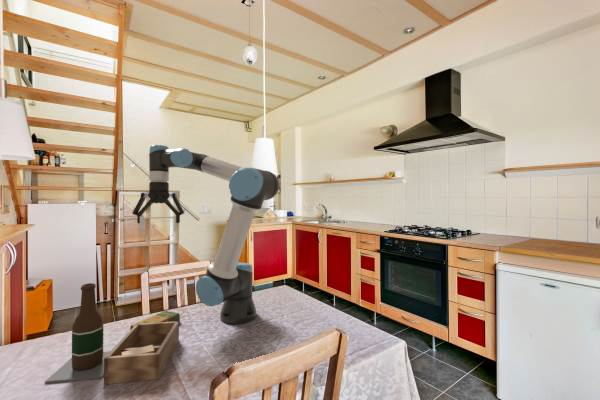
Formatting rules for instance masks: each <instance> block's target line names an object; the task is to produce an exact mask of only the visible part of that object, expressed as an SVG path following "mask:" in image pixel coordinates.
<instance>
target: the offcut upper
mask: <svg viewBox="0 0 600 400" xmlns="http://www.w3.org/2000/svg"><path fill="white" fill-rule="evenodd" d="M153 346H154V344H148V345H144V346H140V347H141V348H138V347H136V348H137V349H133V350H129V351H125V352H122V355H133V354H146V353H154V348H153Z"/></svg>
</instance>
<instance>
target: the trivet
mask: <svg viewBox="0 0 600 400" xmlns="http://www.w3.org/2000/svg"><path fill="white" fill-rule="evenodd" d="M111 351H112V350H110V351H107V350H106V351H103V359H102V362H101V364H99V365H97V366H96V367H94V368H92V369H88V370H84V371H77V370H73V369H72V357H71V358H69V359H68V360H67V361H66V362H65V363H64V364H63V365H61V366H60V367H59V368H58V369H57V370H56V371H55V372H54V373H52V374H51V375H50V376H49V377H48V378H47V379H46V380H45V381H44V384H53V383H55V384H56V383H66V382H77V381H86V380H97V379H98V380H99V379H102V378H104V358H105V357H106V356H107V355H108V354H109V353H110V352H111Z"/></svg>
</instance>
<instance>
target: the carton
mask: <svg viewBox="0 0 600 400" xmlns="http://www.w3.org/2000/svg"><path fill="white" fill-rule="evenodd" d="M180 316H181V315H180V313H179V312H174V311H168V310H163V311H162V312H159V313H156V314H154V315H152V316H150V317H147V318H145V319H143V320H140V321H138V322H135V323H133V324H131V325H130V326H129V327H130V328H129V331H130V330H131V329H132V328H133V327H134V326H135V325H136V324H142V323H158V322H173V321H179V323H180V322H181V317H180Z"/></svg>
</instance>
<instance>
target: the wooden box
mask: <svg viewBox="0 0 600 400" xmlns="http://www.w3.org/2000/svg"><path fill="white" fill-rule="evenodd" d="M179 334H180V322H179V321H173V322H158V323H142V324H136V325H135V326H134V327H133V328H132V329H131V330H130V329H129V331H128V332H127V333H126V334H125V335H124V337H122V339H121V340H120V341H119V342H118V343H117V344H115V346H114V347H113V348H112V350H110V351H111V352H110V353H109V354H108V355H107V356H106V357H105V358H104V376H103V385H112V384H121V383H133V382H143V381H146V382H147V381H154V380H159V379H160V378H161V376H162V374H163V372H164V370H165V369H166V367H167V365H168V363H169V361H170V359H171V356H172V355H173V353H174V351H175V349H176V347H177V345H178V343H179V342H180V340H179V338H180V337H179V336H180V335H179ZM157 344H159V345H157ZM160 344H161V345H160ZM143 345H144V346H148V345H153V348H154V353H146V354H133V355H122V352H125V351H129V350H133V349H137V348H141V347H142V346H143Z"/></svg>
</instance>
